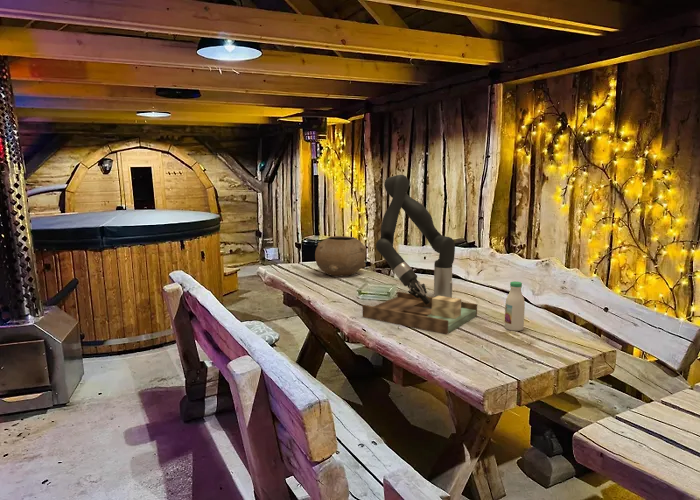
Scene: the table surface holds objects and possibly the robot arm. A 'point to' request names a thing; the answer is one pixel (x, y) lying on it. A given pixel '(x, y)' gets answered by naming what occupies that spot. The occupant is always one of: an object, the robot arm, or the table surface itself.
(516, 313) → the milk bottle
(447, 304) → the maple block
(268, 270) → the table surface
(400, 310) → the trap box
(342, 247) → the ceramic pot
